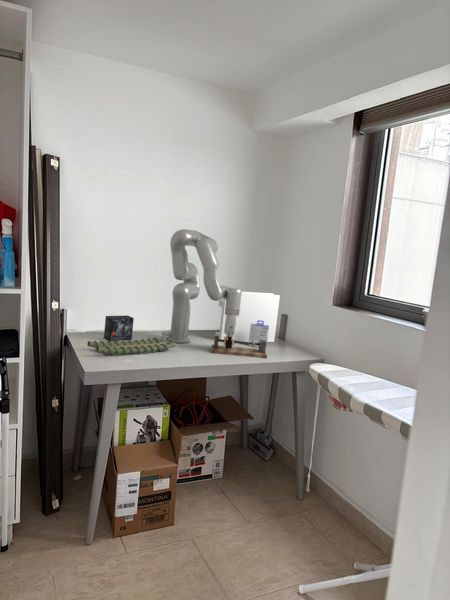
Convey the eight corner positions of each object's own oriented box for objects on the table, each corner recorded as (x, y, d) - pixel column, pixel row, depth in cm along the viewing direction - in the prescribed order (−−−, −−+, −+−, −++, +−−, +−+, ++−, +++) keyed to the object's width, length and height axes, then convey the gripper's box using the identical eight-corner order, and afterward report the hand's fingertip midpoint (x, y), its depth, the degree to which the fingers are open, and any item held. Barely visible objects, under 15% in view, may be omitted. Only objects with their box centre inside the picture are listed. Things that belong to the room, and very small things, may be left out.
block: (220, 341, 262) (226, 292, 258) (215, 338, 269) (220, 290, 265) (274, 341, 277) (280, 295, 273) (267, 338, 284) (273, 293, 280)
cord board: (211, 352, 234) (213, 338, 233) (211, 347, 246) (212, 333, 245) (266, 358, 236) (268, 343, 235) (263, 352, 248) (265, 338, 247)
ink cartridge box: (266, 346, 262) (269, 321, 260) (265, 348, 257) (268, 322, 255) (249, 343, 264) (252, 318, 262) (248, 345, 259) (251, 320, 257)
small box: (109, 341, 235) (111, 318, 233) (103, 338, 240) (104, 315, 238) (132, 340, 244) (134, 317, 242) (125, 336, 249) (127, 315, 247)
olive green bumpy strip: (98, 358, 204) (98, 347, 204) (85, 350, 215) (86, 339, 215) (176, 352, 230) (177, 342, 229) (161, 345, 241) (162, 335, 240)
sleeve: (223, 345, 238) (224, 338, 238) (223, 343, 242) (224, 336, 241) (233, 345, 239) (234, 339, 238) (233, 344, 242) (233, 337, 242)
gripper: (224, 308, 246) (220, 342, 248) (225, 314, 229) (221, 350, 232) (238, 310, 246) (234, 343, 249) (240, 315, 230) (236, 351, 232)
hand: (228, 346), depth 240 cm, fingers closed on sleeve, 3 cm apart
